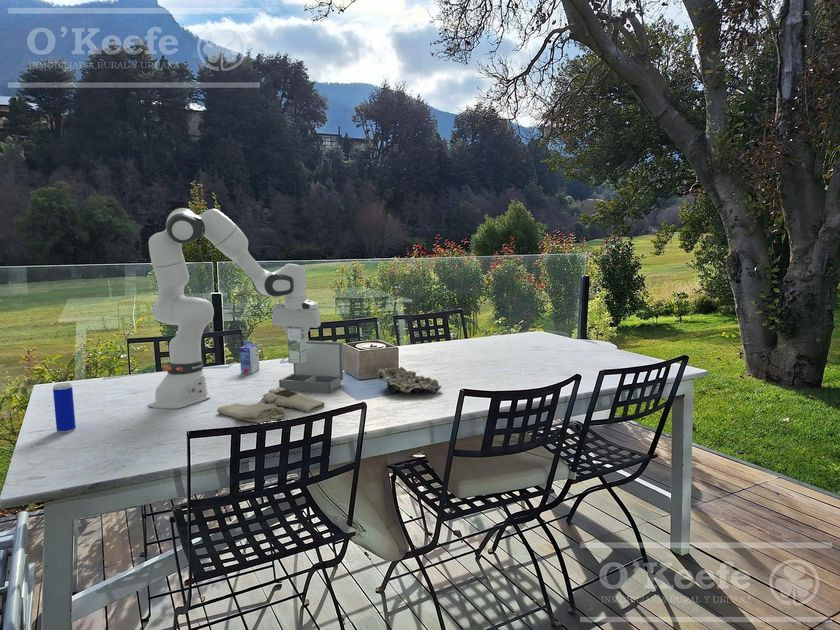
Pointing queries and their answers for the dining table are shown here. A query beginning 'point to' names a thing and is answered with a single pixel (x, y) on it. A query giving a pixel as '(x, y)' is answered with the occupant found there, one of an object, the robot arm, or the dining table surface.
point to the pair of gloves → (271, 406)
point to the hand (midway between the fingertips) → (296, 337)
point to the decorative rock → (406, 380)
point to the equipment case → (317, 369)
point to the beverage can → (64, 407)
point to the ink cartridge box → (249, 358)
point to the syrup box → (296, 345)
